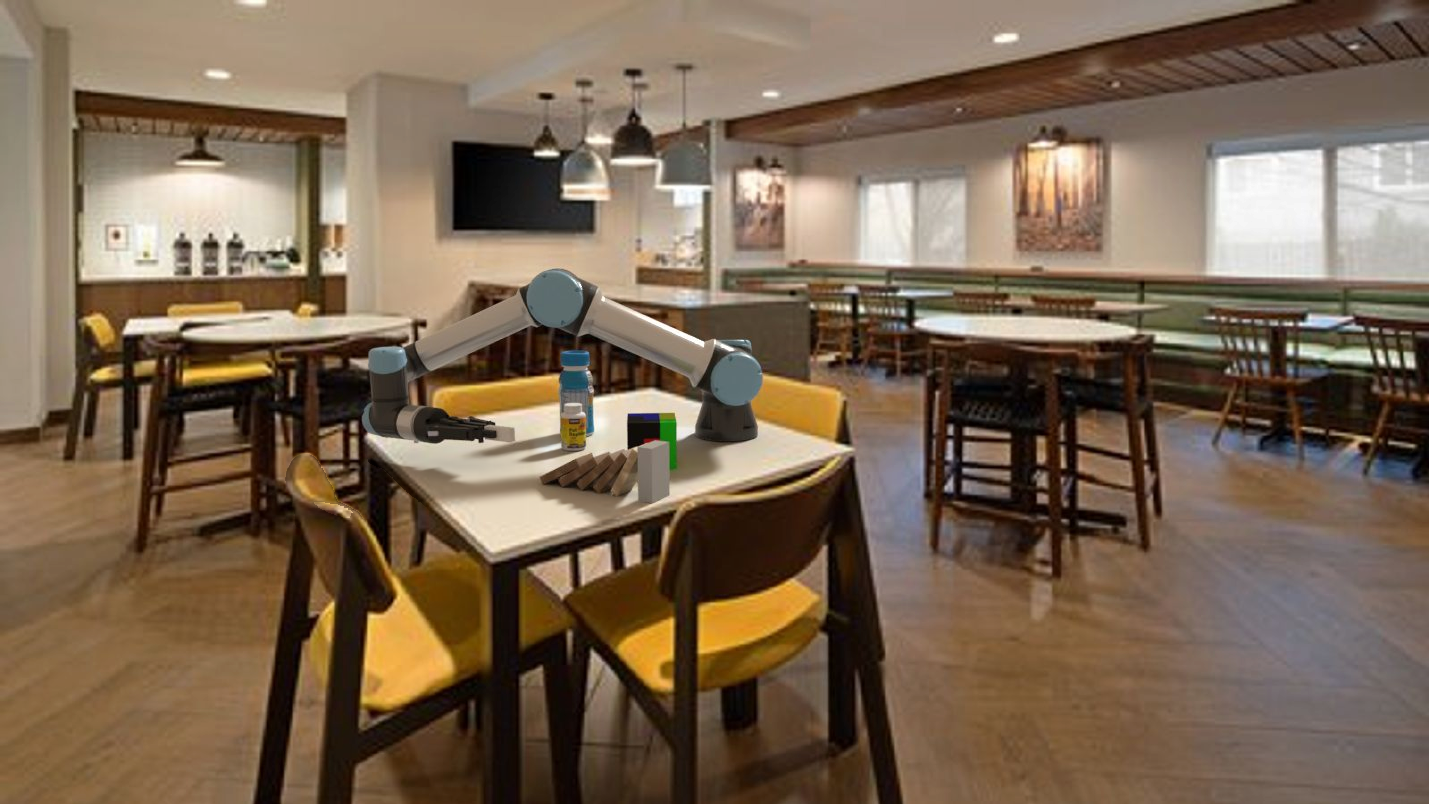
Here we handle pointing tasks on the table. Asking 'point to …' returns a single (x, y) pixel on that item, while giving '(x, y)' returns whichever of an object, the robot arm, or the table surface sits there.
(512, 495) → the table surface
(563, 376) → the beverage bottle
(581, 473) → the domino
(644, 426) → the puzzle toy
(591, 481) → the domino
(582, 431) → the supplement bottle
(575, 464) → the domino
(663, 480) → the rectangular block
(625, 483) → the domino
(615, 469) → the domino
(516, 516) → the table surface
